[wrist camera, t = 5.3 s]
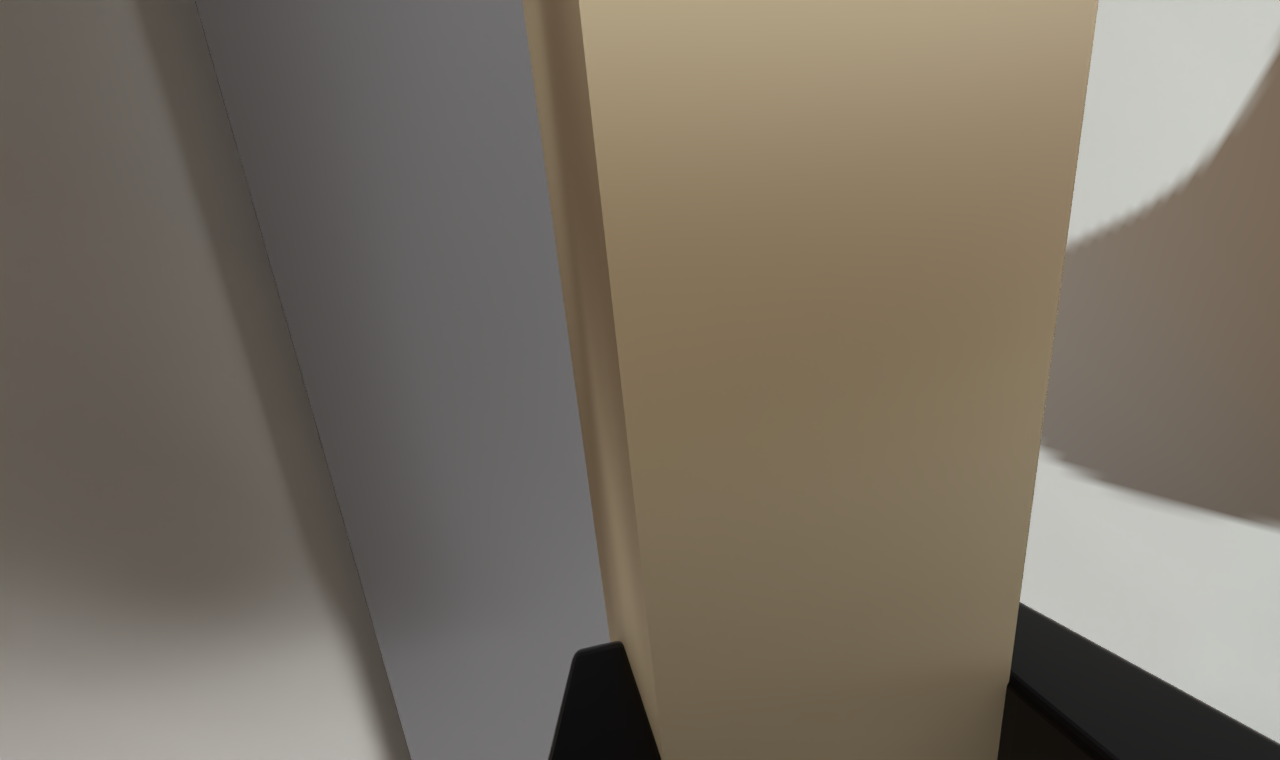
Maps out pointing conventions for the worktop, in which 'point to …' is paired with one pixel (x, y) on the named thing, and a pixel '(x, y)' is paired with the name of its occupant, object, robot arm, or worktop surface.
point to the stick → (812, 349)
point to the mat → (428, 342)
